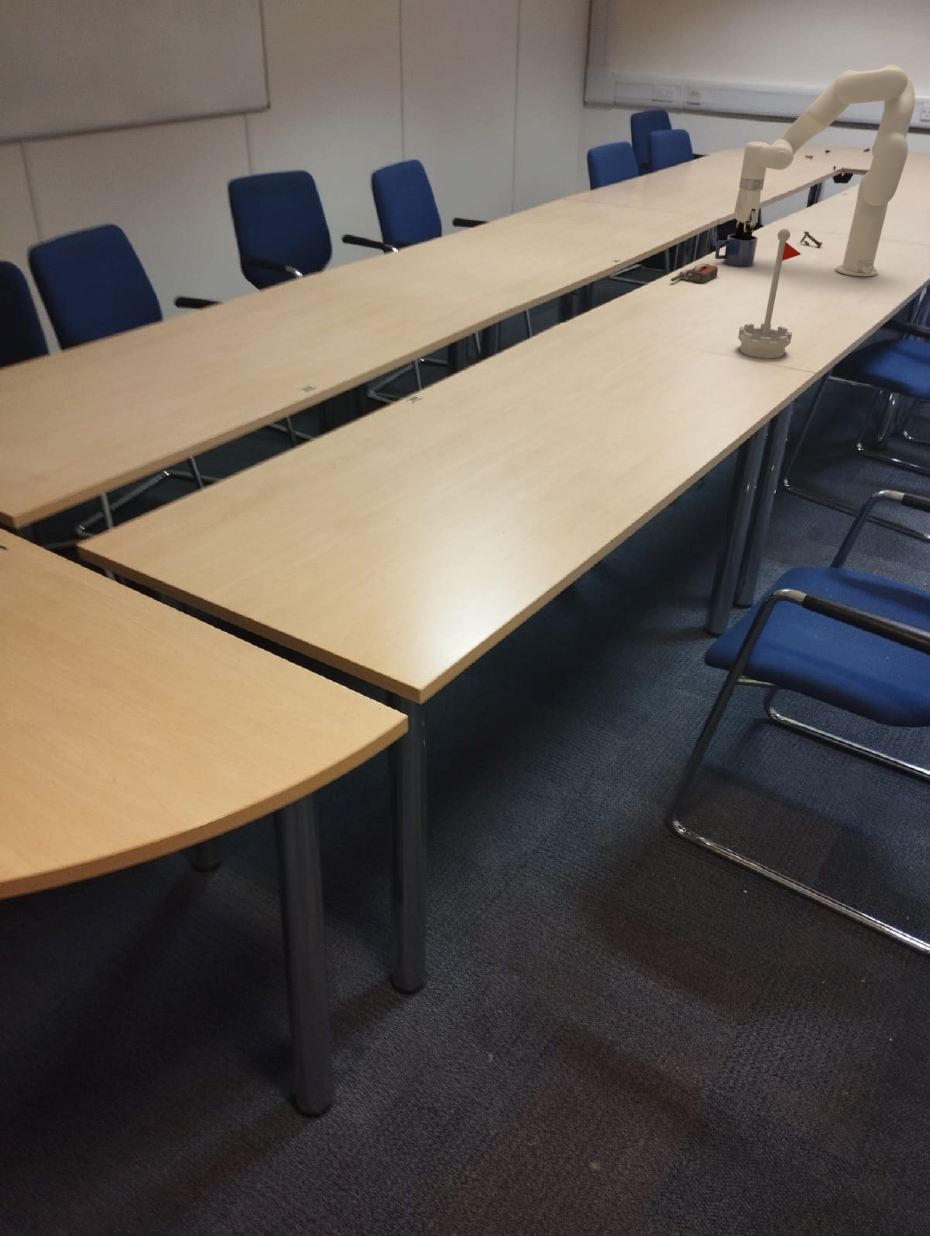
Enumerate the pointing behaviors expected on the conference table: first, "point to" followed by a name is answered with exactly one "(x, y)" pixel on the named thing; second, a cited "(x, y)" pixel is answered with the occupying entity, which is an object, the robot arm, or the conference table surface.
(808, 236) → the wooden post with brackets
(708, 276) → the walkie-talkie
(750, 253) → the mug
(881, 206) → the robot arm
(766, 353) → the flag stand
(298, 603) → the conference table surface
